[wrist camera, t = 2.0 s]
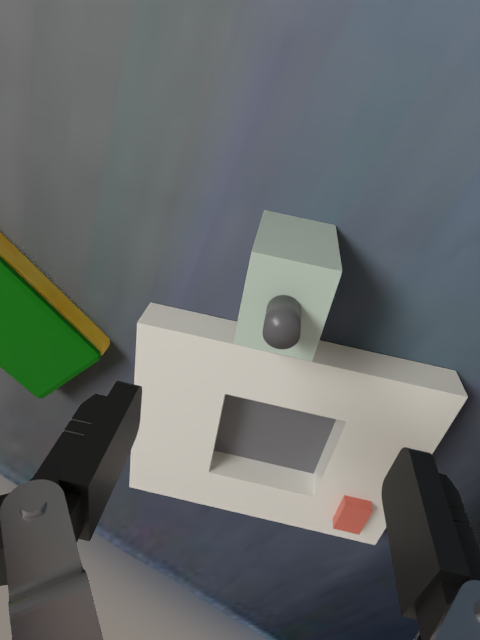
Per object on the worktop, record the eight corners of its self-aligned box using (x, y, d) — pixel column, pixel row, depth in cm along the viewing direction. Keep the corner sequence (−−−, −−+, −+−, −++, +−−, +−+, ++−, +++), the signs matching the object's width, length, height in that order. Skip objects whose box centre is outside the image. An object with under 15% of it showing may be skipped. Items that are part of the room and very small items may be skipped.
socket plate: (455, 370, 27) (472, 406, 24) (371, 516, 36) (376, 555, 33) (150, 302, 28) (132, 329, 25) (139, 461, 36) (125, 495, 33)
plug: (335, 225, 23) (345, 293, 17) (311, 302, 26) (312, 388, 19) (264, 210, 23) (245, 271, 17) (247, 288, 26) (226, 368, 19)
